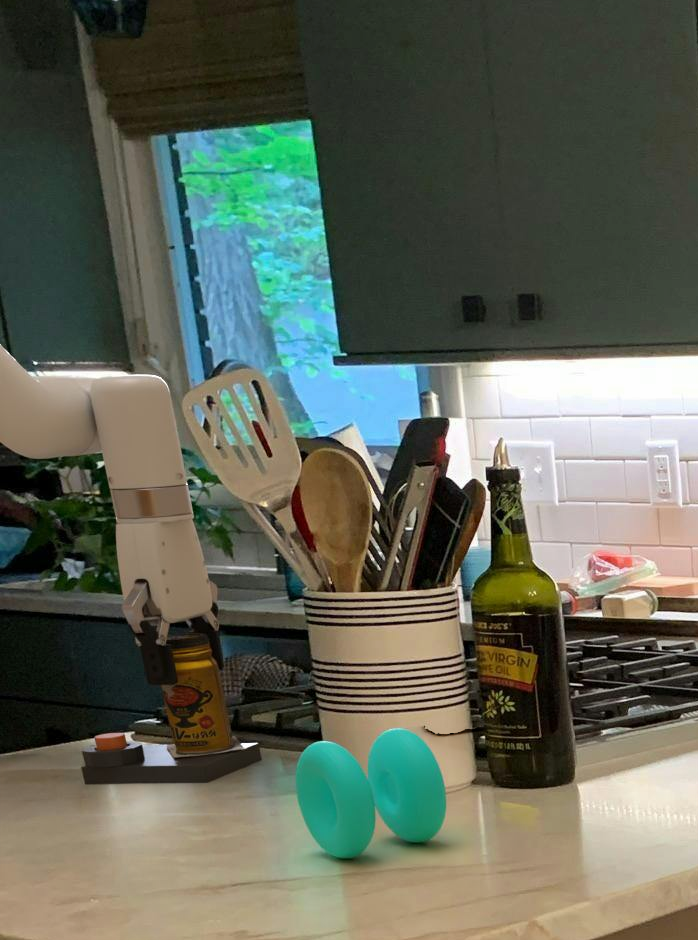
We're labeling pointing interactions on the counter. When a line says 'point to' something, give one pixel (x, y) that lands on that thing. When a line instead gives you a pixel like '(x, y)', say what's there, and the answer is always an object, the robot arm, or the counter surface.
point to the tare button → (110, 741)
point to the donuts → (370, 792)
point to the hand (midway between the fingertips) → (187, 676)
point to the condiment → (197, 700)
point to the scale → (161, 764)
